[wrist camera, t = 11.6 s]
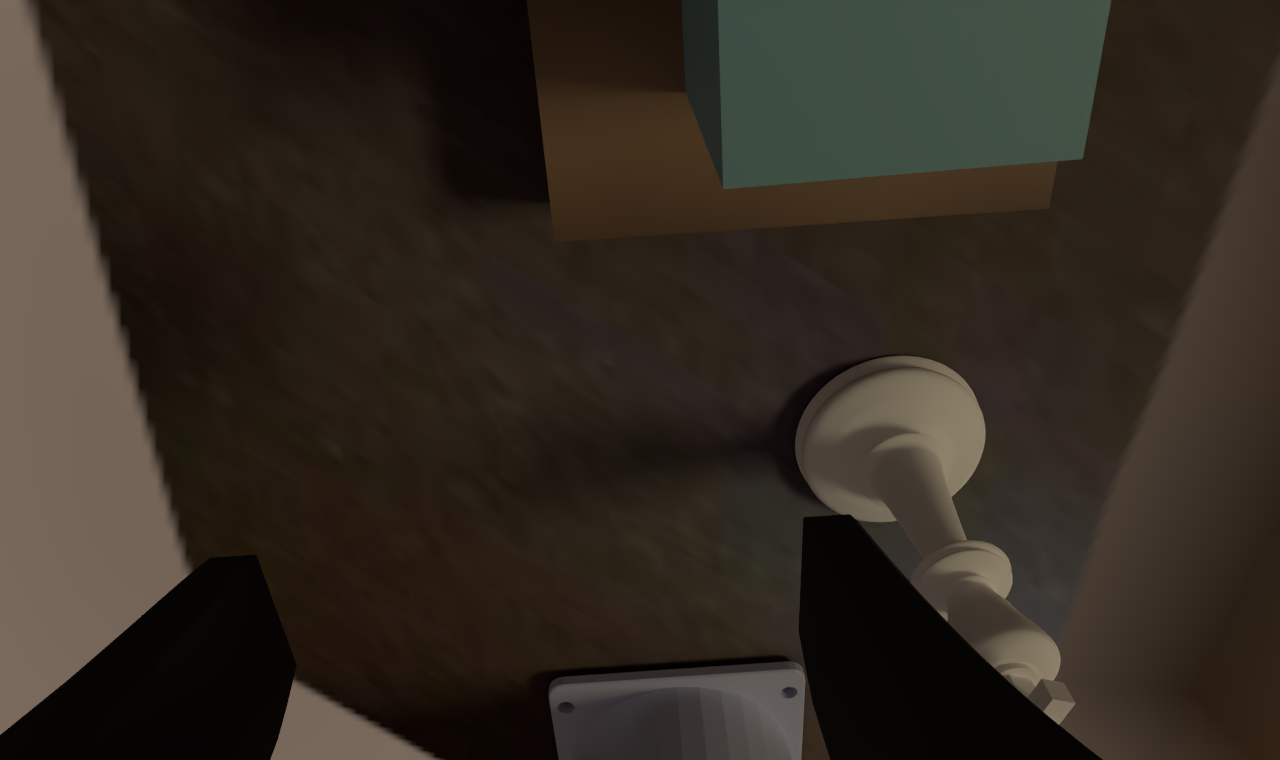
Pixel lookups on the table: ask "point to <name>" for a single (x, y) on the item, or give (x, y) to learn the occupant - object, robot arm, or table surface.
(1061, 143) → the teal block
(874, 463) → the chess piece
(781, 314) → the table surface
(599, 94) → the walnut base
